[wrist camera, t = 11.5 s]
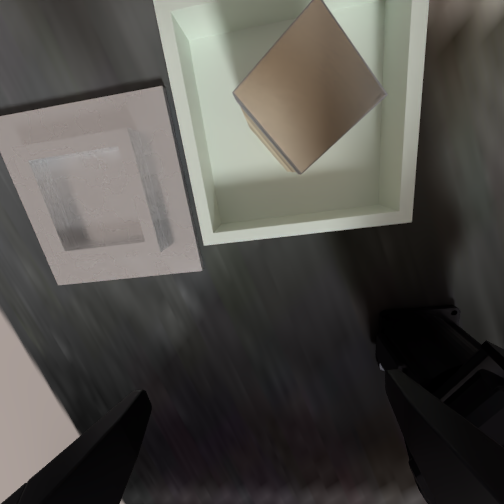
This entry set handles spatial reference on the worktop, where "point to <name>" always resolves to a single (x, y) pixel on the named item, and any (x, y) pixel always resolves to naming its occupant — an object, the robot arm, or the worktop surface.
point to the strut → (308, 90)
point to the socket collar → (104, 187)
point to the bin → (256, 153)
